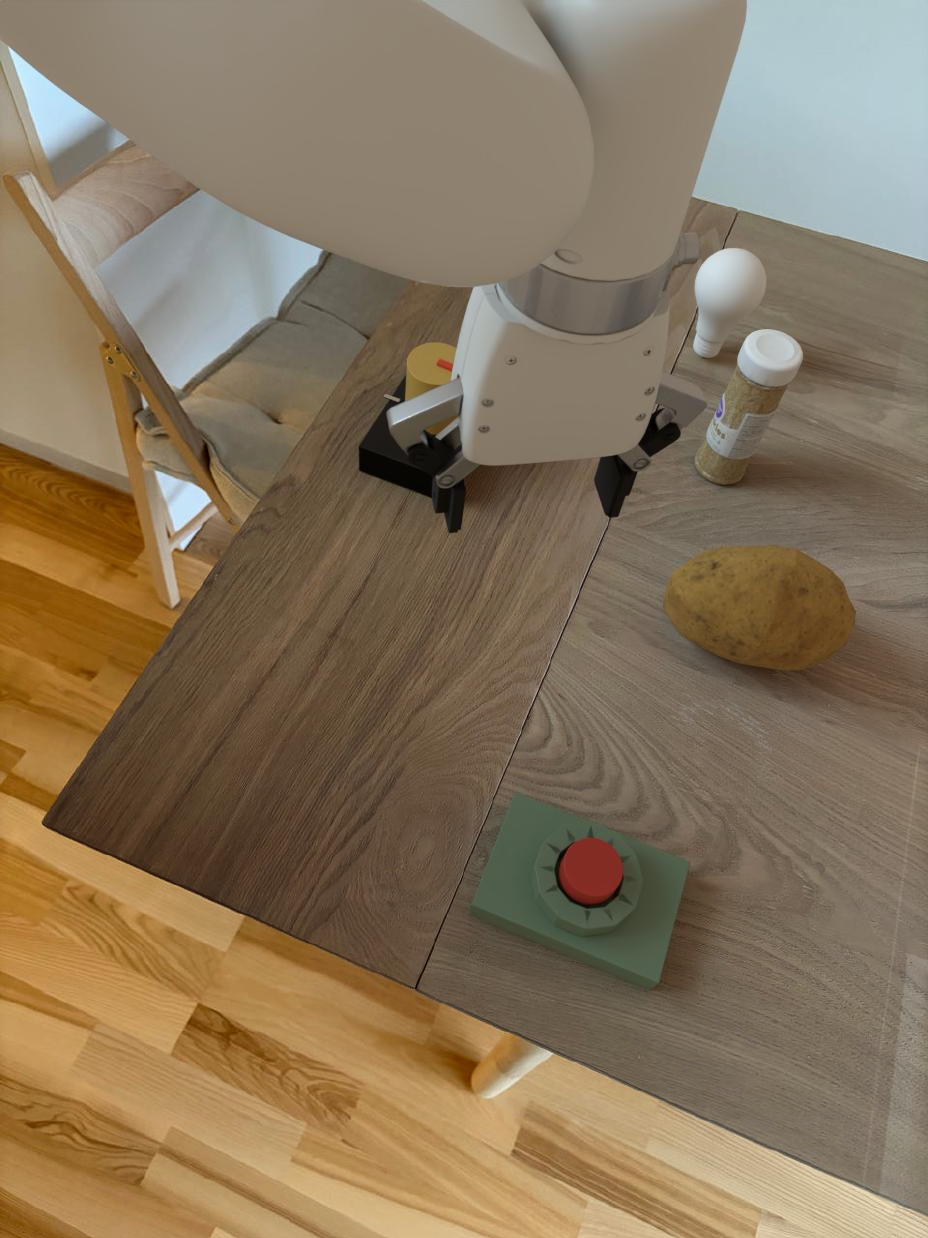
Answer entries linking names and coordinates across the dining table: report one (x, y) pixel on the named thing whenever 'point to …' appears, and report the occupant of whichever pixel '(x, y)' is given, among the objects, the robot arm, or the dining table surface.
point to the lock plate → (392, 452)
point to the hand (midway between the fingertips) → (528, 506)
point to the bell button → (590, 871)
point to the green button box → (544, 913)
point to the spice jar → (748, 404)
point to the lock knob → (429, 373)
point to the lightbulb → (725, 296)
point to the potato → (760, 606)
